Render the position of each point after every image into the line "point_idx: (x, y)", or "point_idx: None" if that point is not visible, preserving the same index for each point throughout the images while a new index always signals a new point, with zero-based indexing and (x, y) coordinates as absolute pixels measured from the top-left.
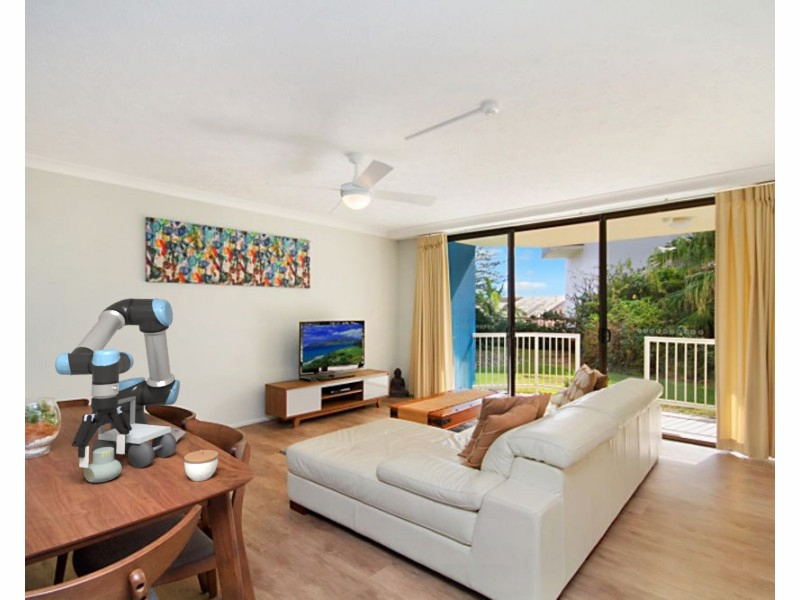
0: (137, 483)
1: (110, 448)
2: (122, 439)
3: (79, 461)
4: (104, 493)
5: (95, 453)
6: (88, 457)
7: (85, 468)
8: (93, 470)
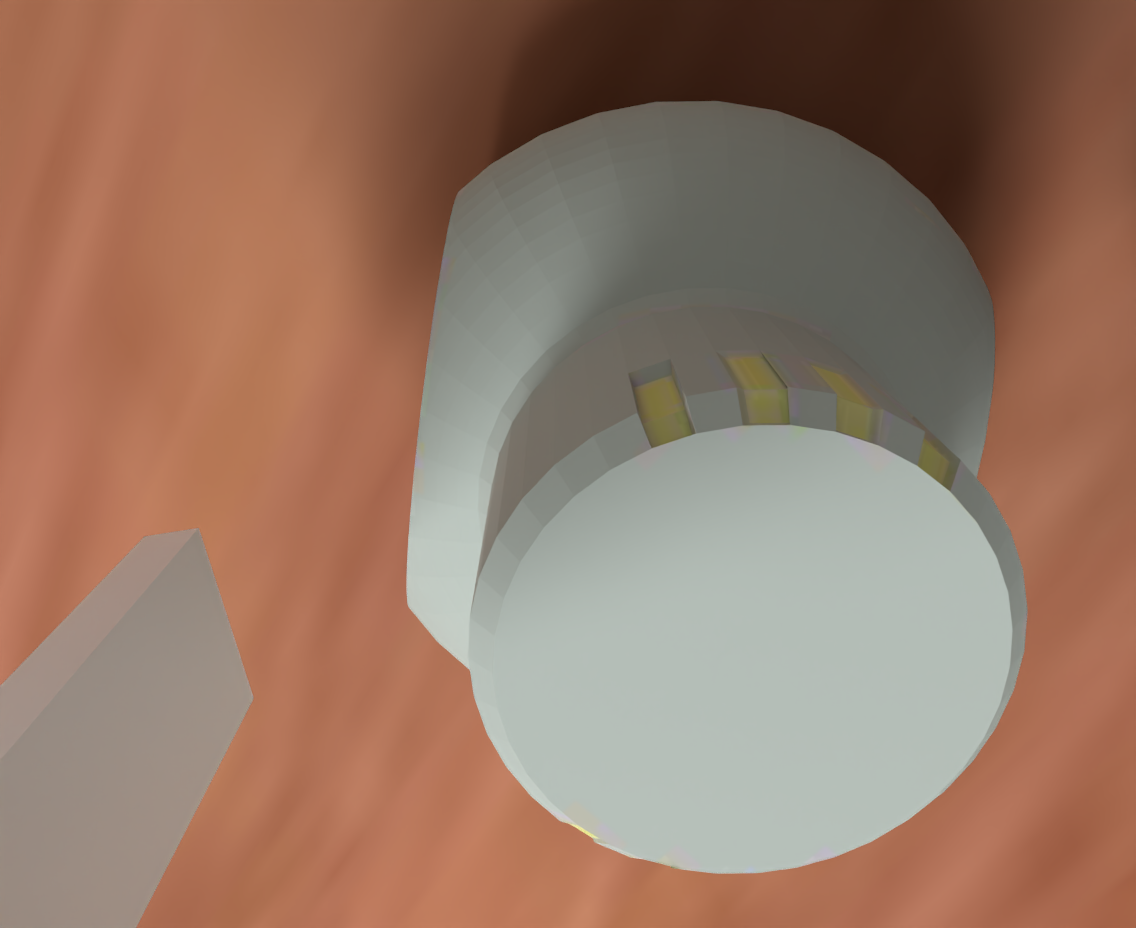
0: (748, 908)
1: (898, 751)
2: None
3: (84, 599)
4: (366, 840)
5: (476, 679)
6: (170, 851)
7: (442, 271)
8: (418, 586)
